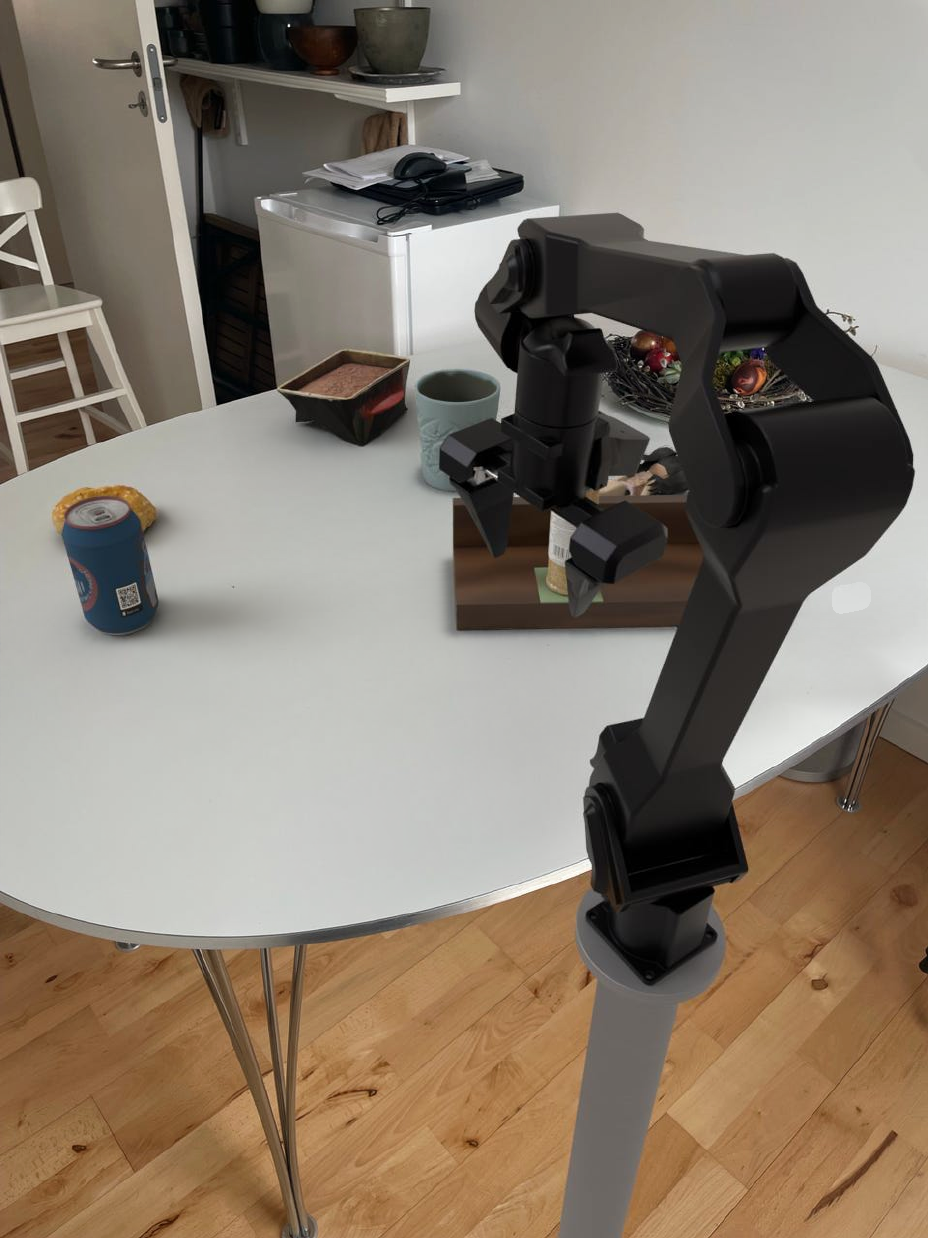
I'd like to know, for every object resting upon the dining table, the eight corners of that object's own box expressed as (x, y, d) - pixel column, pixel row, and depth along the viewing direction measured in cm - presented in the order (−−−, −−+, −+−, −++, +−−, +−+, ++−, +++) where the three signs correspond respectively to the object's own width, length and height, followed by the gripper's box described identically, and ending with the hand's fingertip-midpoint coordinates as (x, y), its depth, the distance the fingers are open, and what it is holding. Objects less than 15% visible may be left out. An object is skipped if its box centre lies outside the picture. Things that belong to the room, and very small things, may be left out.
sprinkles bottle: (601, 584, 91) (615, 458, 83) (571, 603, 89) (583, 475, 81) (564, 566, 94) (575, 443, 86) (535, 584, 91) (542, 458, 83)
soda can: (77, 614, 92) (46, 506, 85) (144, 590, 96) (120, 485, 89) (102, 648, 88) (71, 538, 81) (172, 622, 91) (149, 514, 84)
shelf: (742, 625, 91) (758, 555, 87) (456, 630, 90) (456, 560, 86) (711, 559, 101) (724, 493, 96) (452, 563, 100) (452, 497, 95)
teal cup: (476, 452, 122) (477, 363, 115) (512, 485, 115) (516, 392, 108) (404, 467, 118) (401, 376, 111) (436, 502, 111) (435, 407, 104)
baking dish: (274, 442, 129) (262, 378, 122) (351, 381, 139) (344, 319, 132) (359, 474, 124) (351, 409, 116) (432, 409, 134) (430, 346, 127)
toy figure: (607, 534, 106) (703, 494, 112) (606, 483, 103) (705, 444, 109) (568, 515, 111) (661, 477, 118) (565, 465, 108) (662, 430, 114)
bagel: (170, 536, 104) (162, 498, 102) (67, 562, 100) (56, 523, 97) (145, 499, 111) (137, 462, 108) (48, 522, 107) (37, 485, 104)
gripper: (740, 427, 63) (693, 604, 73) (547, 329, 73) (531, 496, 83) (626, 483, 57) (594, 666, 67) (436, 368, 68) (433, 541, 78)
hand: (536, 583), depth 74 cm, fingers open, 9 cm apart
